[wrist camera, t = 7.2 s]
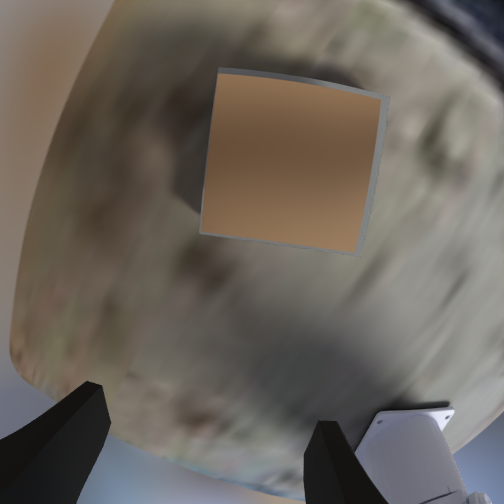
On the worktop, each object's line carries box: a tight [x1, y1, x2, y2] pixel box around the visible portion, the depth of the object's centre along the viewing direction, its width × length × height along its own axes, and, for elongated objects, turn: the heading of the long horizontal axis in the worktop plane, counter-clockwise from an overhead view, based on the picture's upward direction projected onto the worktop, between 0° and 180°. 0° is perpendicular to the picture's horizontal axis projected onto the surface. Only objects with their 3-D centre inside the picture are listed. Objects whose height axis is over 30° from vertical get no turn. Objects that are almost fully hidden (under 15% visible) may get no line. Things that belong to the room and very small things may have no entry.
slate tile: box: [199, 67, 390, 257], centre depth 16 cm, size 8×8×3 cm
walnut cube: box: [201, 74, 381, 253], centre depth 12 cm, size 5×5×5 cm
